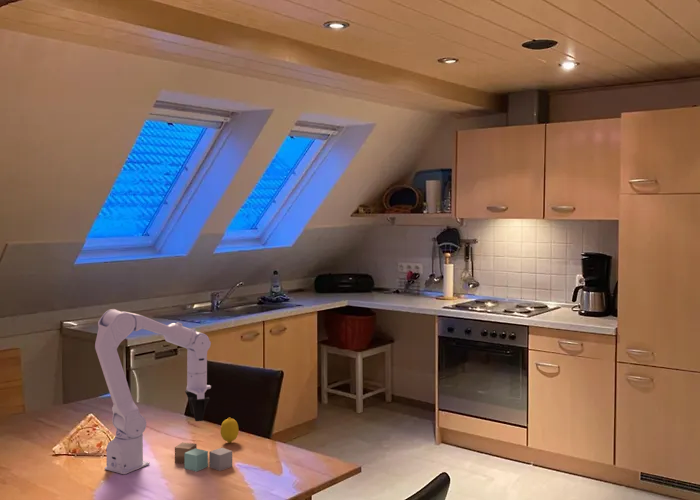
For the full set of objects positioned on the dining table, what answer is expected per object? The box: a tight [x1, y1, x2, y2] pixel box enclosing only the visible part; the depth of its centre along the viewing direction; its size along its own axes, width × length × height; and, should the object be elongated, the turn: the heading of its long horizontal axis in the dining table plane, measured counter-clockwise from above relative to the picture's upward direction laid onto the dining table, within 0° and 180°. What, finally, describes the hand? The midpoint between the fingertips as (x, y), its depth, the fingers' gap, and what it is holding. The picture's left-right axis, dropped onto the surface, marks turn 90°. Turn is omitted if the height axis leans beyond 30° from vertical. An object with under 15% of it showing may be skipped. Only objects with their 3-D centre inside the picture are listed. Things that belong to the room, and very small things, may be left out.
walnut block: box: [174, 441, 198, 465], centre depth 199 cm, size 4×4×4 cm
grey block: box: [208, 447, 233, 472], centre depth 195 cm, size 4×4×4 cm
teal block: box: [184, 448, 209, 472], centre depth 194 cm, size 4×4×4 cm
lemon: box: [220, 417, 240, 444], centre depth 215 cm, size 6×6×8 cm
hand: (196, 417), depth 207 cm, fingers open, 7 cm apart
